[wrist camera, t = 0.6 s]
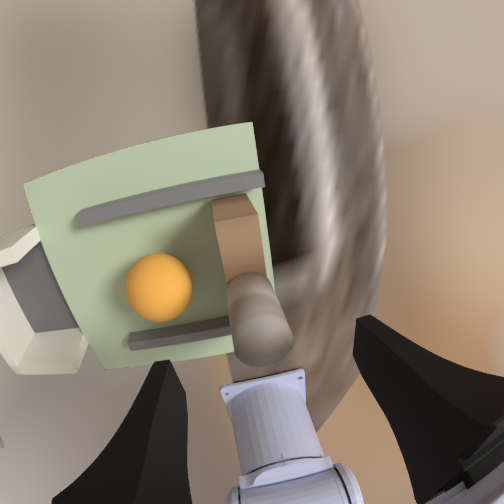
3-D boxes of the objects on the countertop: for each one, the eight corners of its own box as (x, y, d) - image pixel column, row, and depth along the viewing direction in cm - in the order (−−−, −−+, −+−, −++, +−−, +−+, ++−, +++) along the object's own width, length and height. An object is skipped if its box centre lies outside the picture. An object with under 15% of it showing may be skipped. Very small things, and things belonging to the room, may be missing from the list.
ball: (199, 291, 19) (200, 329, 16) (143, 301, 19) (133, 340, 16) (185, 236, 18) (181, 267, 14) (124, 249, 17) (107, 281, 14)
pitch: (277, 332, 24) (291, 371, 20) (48, 364, 22) (34, 398, 18) (249, 122, 17) (263, 122, 13) (-27, 207, 15) (-61, 228, 11)
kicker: (265, 305, 20) (297, 395, 13) (231, 312, 20) (249, 406, 13) (249, 192, 17) (285, 249, 10) (207, 200, 17) (213, 264, 10)
